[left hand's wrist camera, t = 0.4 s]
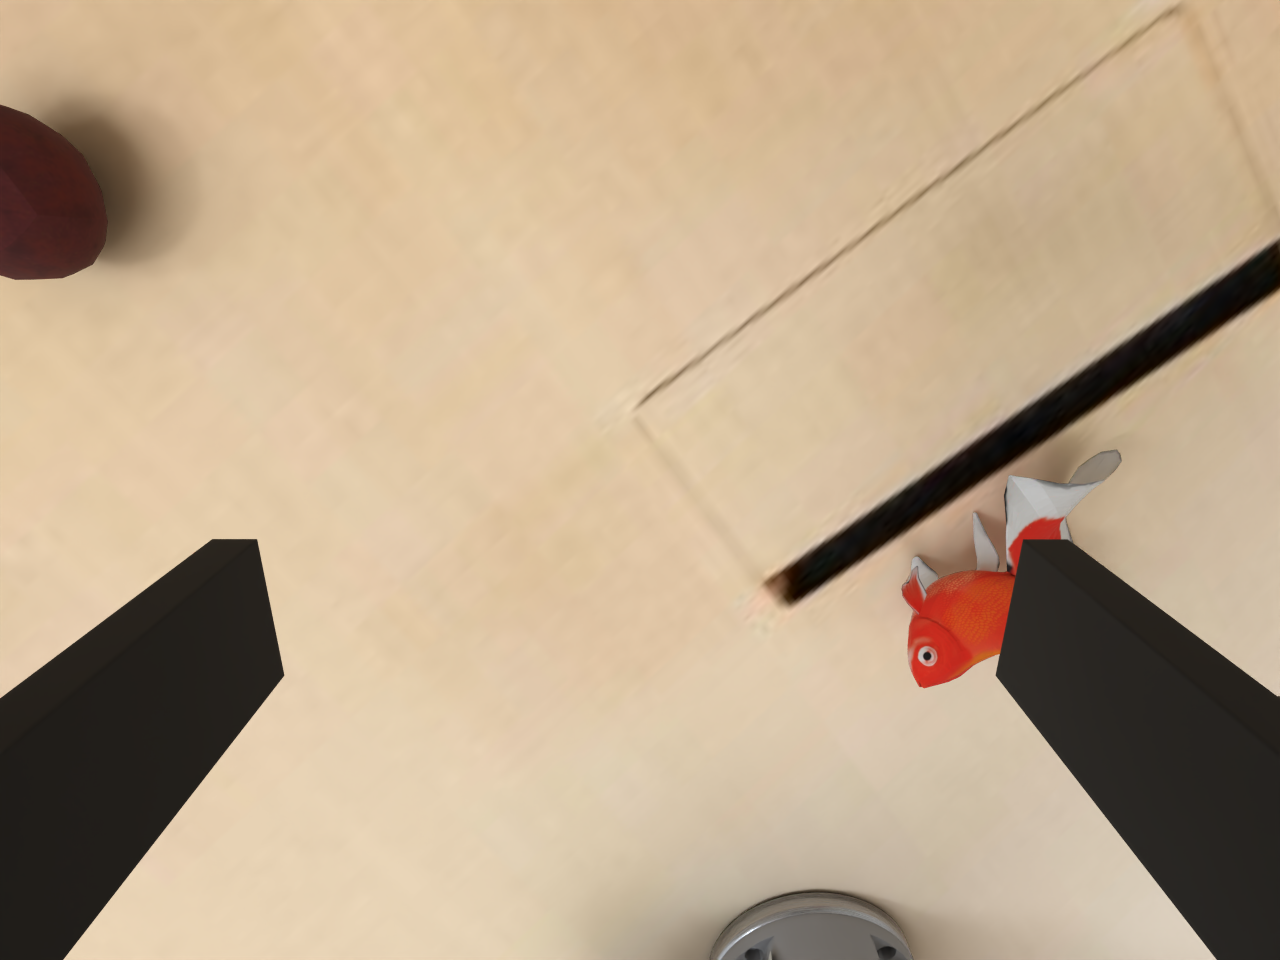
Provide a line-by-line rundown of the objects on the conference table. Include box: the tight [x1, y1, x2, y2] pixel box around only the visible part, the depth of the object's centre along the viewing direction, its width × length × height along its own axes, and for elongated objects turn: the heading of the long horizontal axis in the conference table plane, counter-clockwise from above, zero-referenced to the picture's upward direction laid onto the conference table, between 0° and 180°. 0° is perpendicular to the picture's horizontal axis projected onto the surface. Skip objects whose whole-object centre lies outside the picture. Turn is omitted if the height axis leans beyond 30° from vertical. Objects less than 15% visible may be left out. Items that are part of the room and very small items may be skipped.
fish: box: [902, 450, 1122, 688], centre depth 39 cm, size 11×16×10 cm
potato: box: [0, 105, 108, 280], centre depth 33 cm, size 7×8×7 cm
